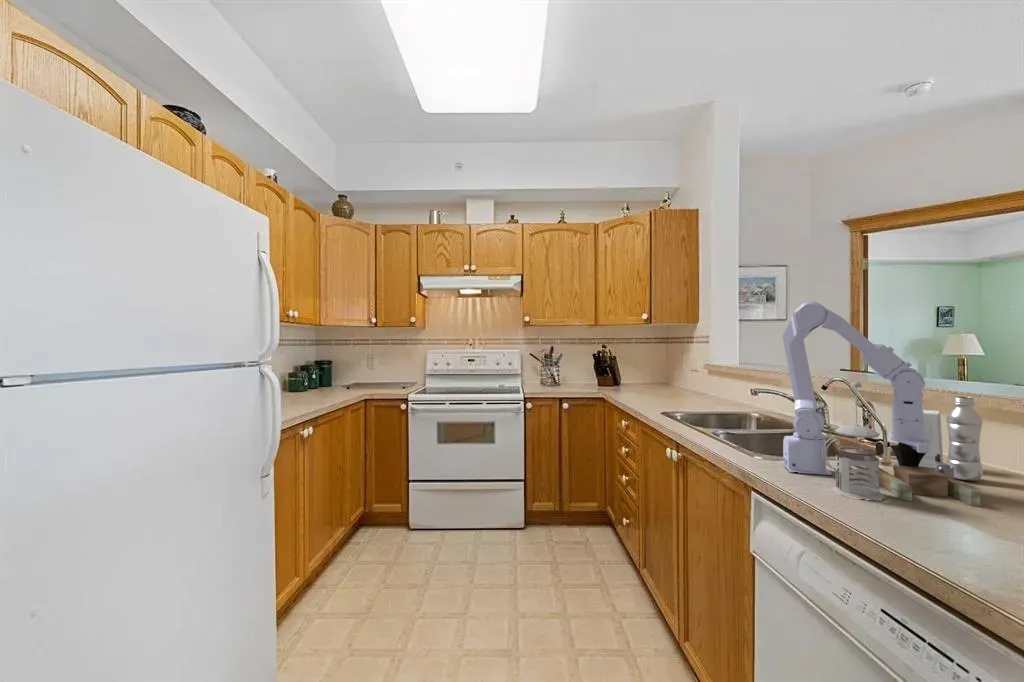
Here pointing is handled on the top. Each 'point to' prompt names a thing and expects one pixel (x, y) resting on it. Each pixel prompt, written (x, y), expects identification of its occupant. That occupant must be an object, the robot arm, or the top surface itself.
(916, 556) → the top surface
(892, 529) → the top surface
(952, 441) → the silver metal bottle
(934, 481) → the box
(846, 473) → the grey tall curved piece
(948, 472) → the crank handle cylinder
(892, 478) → the bay
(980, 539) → the top surface
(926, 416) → the skincare box
